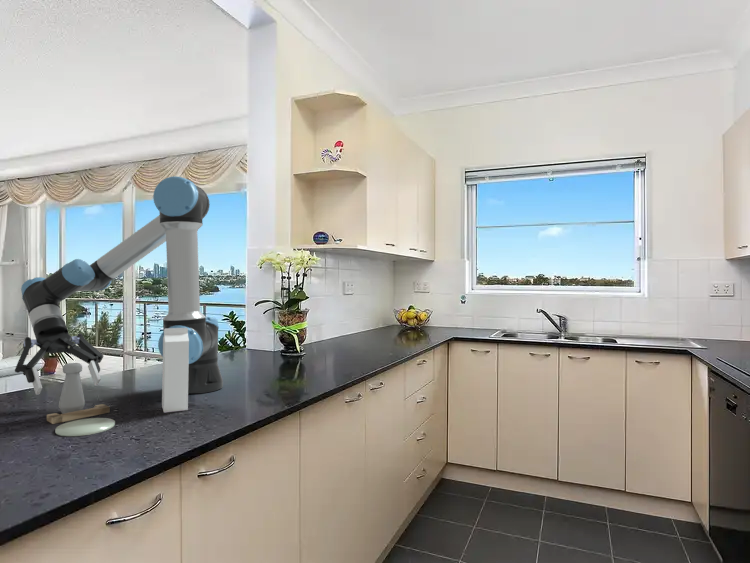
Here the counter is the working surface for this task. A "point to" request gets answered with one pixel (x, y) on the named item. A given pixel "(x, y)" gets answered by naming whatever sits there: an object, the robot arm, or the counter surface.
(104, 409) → the oak holder
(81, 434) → the disc
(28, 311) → the robot arm
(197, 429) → the counter surface
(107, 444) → the counter surface
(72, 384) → the salt shaker
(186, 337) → the milk
